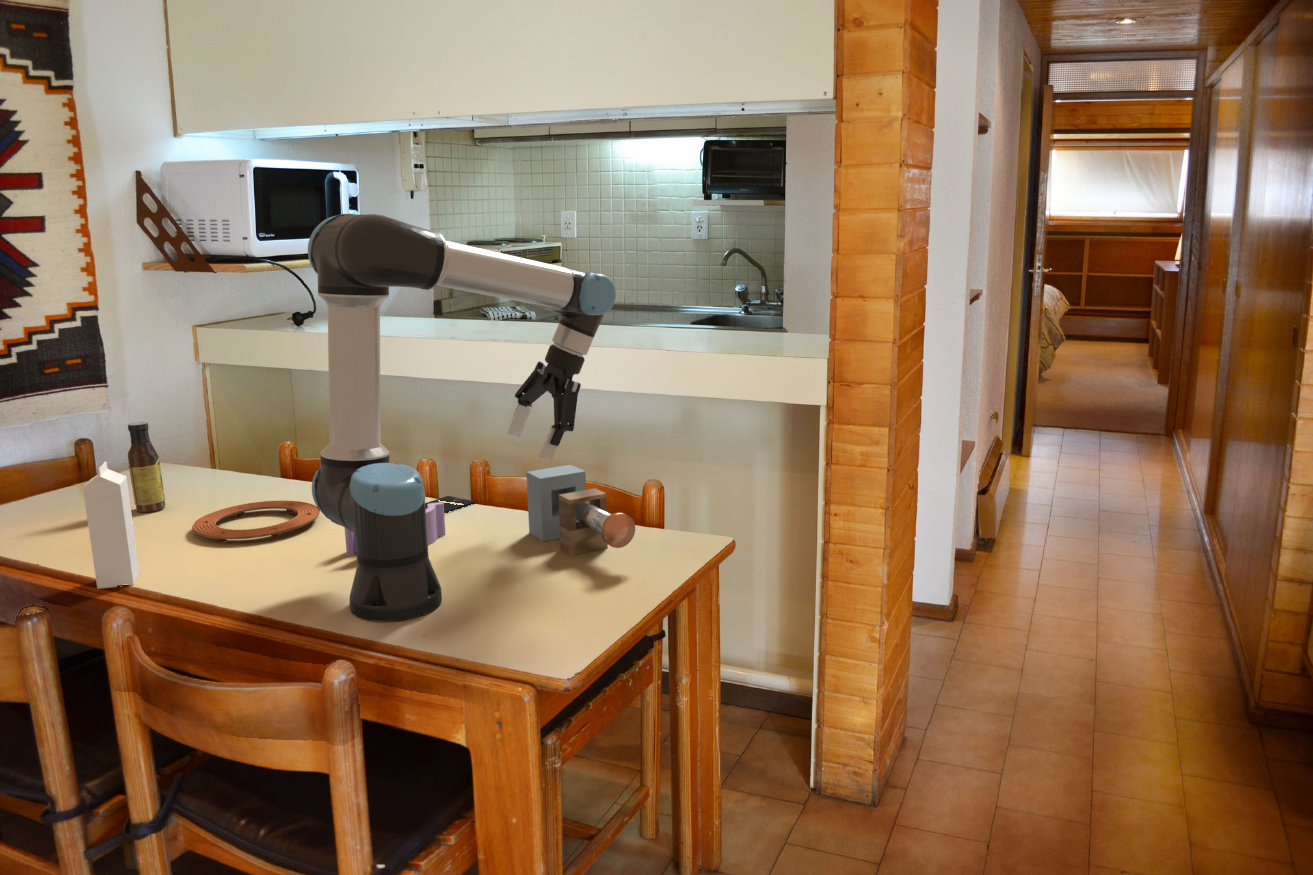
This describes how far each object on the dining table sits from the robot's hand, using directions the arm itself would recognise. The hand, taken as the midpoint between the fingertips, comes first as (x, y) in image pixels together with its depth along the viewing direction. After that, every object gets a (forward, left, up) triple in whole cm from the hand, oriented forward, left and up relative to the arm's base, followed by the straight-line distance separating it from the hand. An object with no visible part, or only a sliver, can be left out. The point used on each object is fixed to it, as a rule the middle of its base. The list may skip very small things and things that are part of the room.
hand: (528, 446), depth 211 cm
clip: (-27, +8, -18) cm, 33 cm away
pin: (+4, -22, -13) cm, 26 cm away
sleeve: (+4, -16, -18) cm, 24 cm away
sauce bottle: (-65, +63, -18) cm, 92 cm away
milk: (-75, +15, -18) cm, 79 cm away
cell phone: (-12, +26, -18) cm, 34 cm away
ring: (-47, +36, -18) cm, 62 cm away
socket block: (+4, -5, -18) cm, 19 cm away
